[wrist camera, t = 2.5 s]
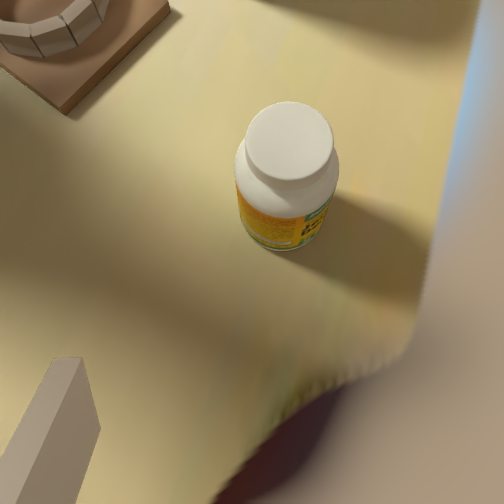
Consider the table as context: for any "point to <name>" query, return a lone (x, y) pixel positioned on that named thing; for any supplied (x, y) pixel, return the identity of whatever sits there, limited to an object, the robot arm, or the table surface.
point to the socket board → (87, 57)
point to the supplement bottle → (285, 175)
